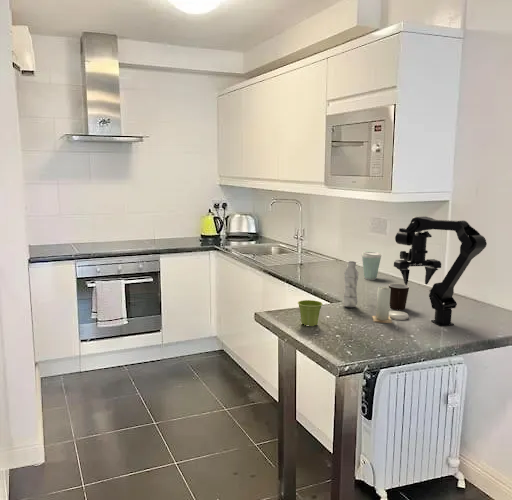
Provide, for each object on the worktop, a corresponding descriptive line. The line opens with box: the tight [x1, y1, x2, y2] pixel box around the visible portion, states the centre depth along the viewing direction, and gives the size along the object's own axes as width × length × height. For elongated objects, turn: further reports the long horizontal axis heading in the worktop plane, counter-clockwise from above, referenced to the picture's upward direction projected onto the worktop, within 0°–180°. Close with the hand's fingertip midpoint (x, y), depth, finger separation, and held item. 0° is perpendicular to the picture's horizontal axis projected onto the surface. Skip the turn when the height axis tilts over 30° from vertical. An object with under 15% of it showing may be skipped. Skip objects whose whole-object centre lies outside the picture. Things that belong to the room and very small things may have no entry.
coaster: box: [371, 315, 393, 324], centre depth 208 cm, size 7×7×1 cm
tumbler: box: [375, 286, 391, 320], centre depth 207 cm, size 5×5×12 cm
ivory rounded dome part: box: [389, 310, 409, 321], centre depth 212 cm, size 8×8×2 cm
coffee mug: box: [388, 283, 410, 311], centre depth 224 cm, size 12×9×10 cm
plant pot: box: [297, 299, 323, 327], centre depth 199 cm, size 9×9×9 cm
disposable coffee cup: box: [361, 250, 382, 281], centre depth 285 cm, size 11×11×15 cm
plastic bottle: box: [342, 261, 360, 308], centre depth 225 cm, size 6×7×20 cm
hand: (416, 284), depth 214 cm, fingers open, 9 cm apart
